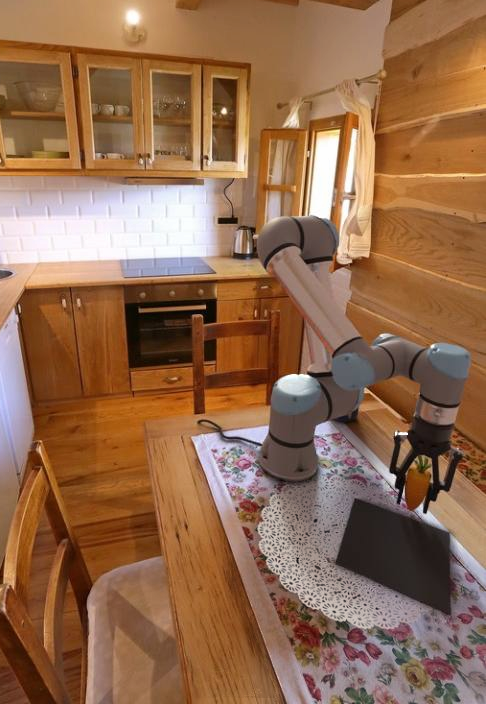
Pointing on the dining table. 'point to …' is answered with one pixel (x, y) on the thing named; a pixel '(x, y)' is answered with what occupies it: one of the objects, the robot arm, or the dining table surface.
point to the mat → (398, 553)
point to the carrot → (417, 483)
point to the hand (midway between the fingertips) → (411, 504)
